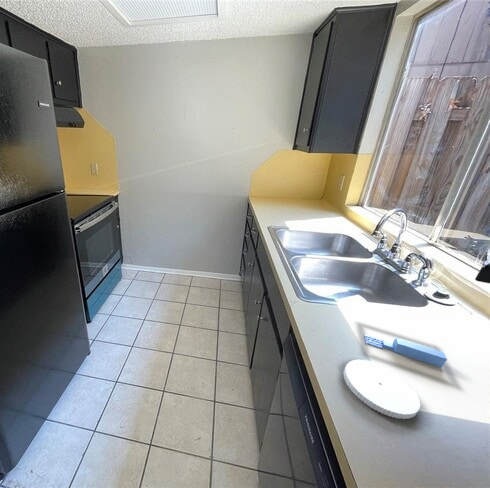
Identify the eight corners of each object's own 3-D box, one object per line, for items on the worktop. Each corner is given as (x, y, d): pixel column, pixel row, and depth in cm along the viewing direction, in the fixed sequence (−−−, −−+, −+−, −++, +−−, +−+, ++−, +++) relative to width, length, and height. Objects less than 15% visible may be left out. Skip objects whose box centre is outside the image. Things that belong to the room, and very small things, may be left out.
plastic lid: (402, 379, 64) (406, 372, 63) (427, 434, 52) (433, 426, 51) (338, 359, 69) (341, 352, 68) (347, 404, 58) (351, 397, 57)
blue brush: (436, 360, 70) (442, 350, 68) (441, 370, 67) (447, 360, 65) (363, 337, 77) (367, 327, 75) (365, 344, 74) (369, 335, 73)
